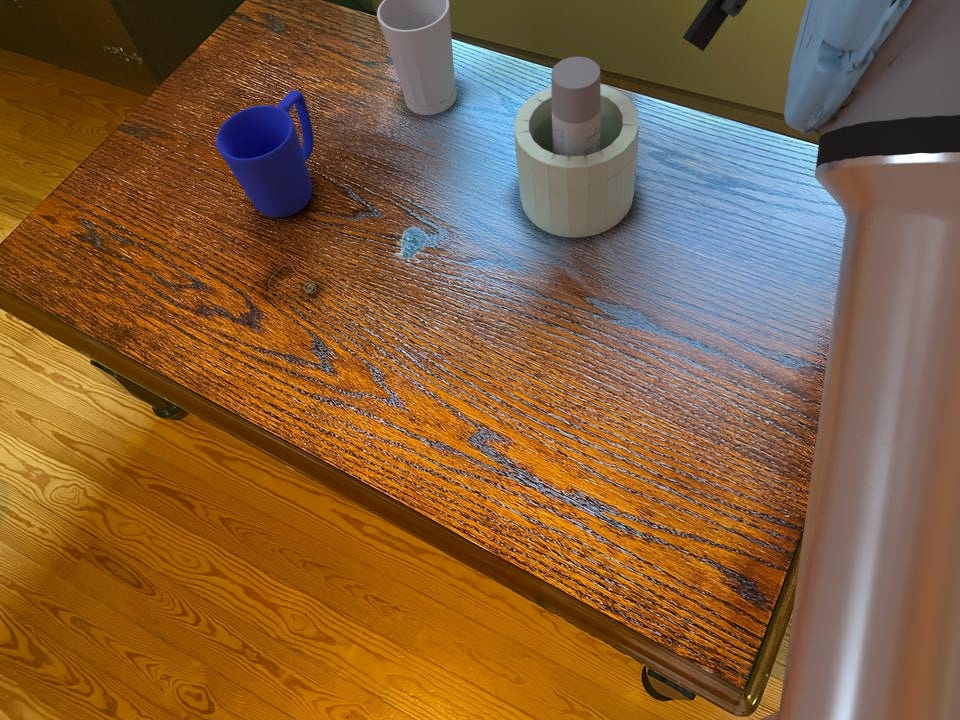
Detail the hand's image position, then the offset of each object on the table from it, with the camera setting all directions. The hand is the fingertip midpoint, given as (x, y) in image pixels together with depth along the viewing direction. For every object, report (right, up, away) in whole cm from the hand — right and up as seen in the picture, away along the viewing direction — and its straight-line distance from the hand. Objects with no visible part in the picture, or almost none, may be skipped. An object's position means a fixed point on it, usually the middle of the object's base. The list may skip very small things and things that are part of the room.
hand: (640, 8), depth 70 cm
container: (-4, -13, +14) cm, 20 cm away
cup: (-20, +1, +26) cm, 33 cm away
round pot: (-4, -14, +15) cm, 20 cm away
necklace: (-34, -23, +12) cm, 43 cm away
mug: (-36, -12, +20) cm, 43 cm away
